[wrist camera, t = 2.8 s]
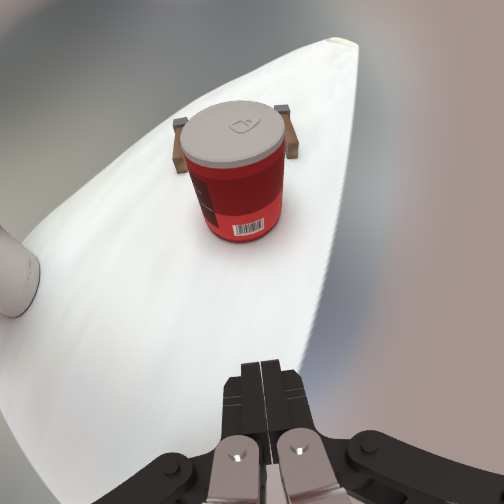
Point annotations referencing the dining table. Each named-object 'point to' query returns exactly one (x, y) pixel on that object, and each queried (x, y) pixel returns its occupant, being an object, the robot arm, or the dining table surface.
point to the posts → (182, 121)
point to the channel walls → (290, 145)
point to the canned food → (237, 167)
